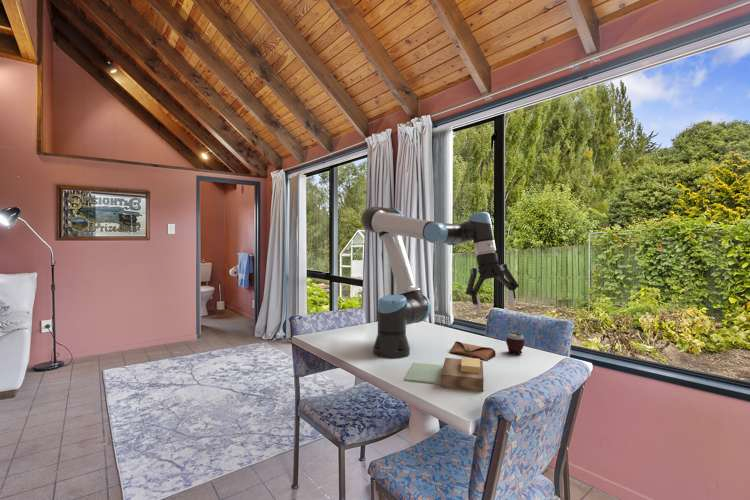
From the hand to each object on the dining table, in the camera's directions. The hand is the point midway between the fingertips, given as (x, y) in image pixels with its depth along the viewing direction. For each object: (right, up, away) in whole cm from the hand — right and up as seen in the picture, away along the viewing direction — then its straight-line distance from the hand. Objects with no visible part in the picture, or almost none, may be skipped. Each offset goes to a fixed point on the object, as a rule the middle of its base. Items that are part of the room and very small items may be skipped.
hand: (496, 310), depth 137 cm
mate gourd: (+15, -21, +20) cm, 33 cm away
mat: (-26, -21, -5) cm, 34 cm away
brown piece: (-15, -21, -11) cm, 28 cm away
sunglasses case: (-5, -21, +17) cm, 28 cm away
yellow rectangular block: (-12, -17, -11) cm, 24 cm away
